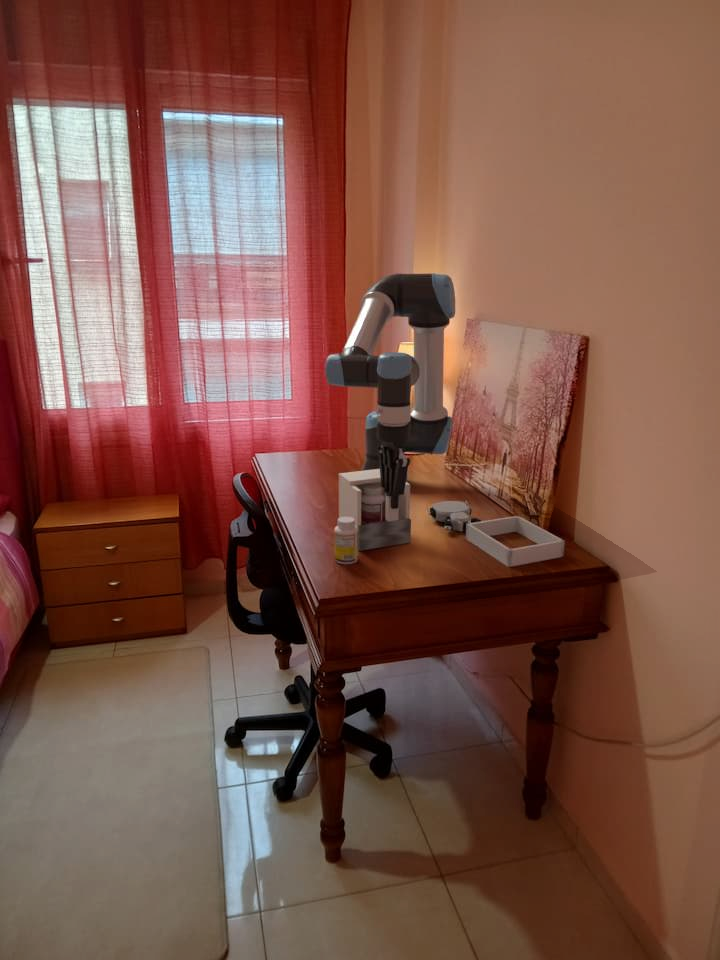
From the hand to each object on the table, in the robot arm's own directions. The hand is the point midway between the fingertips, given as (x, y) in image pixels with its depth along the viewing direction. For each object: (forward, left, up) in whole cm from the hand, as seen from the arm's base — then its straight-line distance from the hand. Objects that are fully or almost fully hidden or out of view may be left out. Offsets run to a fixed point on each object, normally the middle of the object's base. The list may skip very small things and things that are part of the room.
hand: (391, 519), depth 162 cm
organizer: (-29, +9, -8) cm, 31 cm away
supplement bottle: (+12, 0, -9) cm, 15 cm away
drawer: (0, -9, -8) cm, 12 cm away
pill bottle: (0, -11, -6) cm, 12 cm away
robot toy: (-24, -10, -9) cm, 27 cm away
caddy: (0, -10, -8) cm, 13 cm away
